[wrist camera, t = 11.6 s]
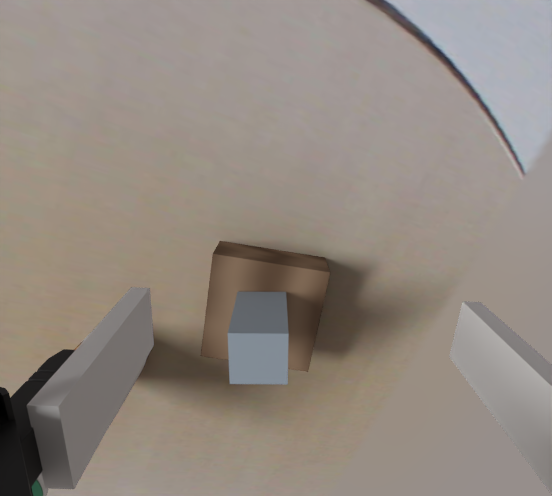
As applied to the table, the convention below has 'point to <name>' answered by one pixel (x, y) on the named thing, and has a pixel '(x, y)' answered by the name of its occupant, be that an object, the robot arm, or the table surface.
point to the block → (259, 339)
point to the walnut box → (266, 278)
